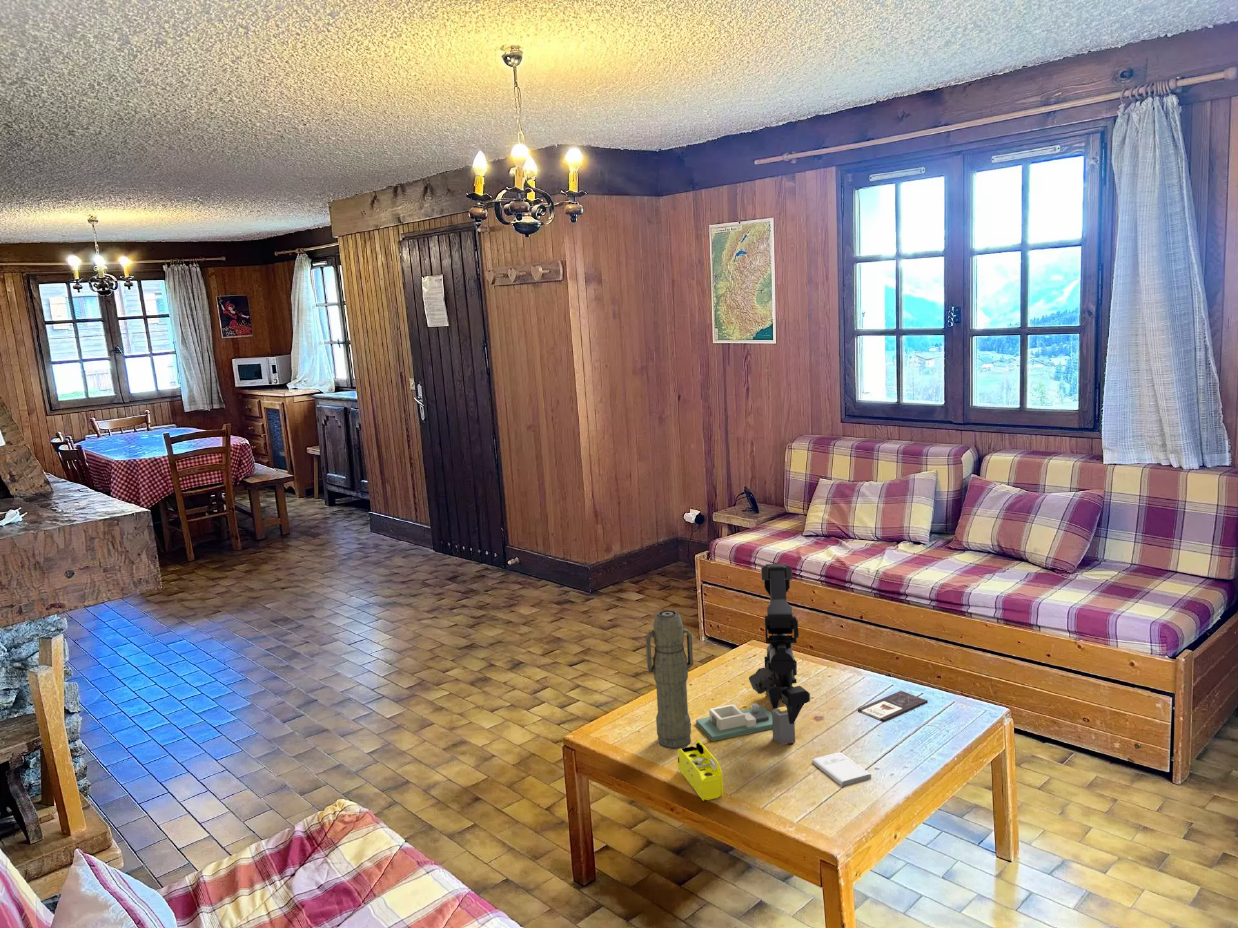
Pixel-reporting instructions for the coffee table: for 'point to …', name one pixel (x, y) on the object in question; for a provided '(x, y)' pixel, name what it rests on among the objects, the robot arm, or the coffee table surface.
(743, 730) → the board
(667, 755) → the coffee table surface
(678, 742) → the thermos
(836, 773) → the external hard drive
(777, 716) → the plug
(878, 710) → the chocolate bar
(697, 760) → the yellow toy chassis
